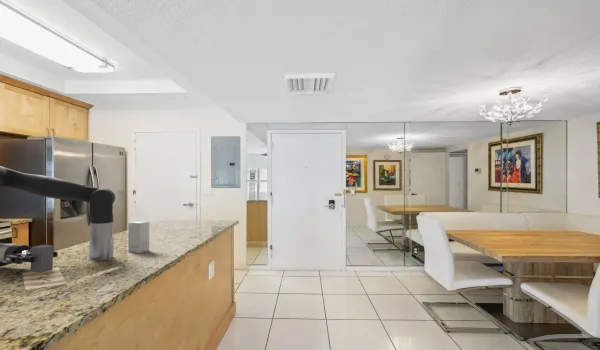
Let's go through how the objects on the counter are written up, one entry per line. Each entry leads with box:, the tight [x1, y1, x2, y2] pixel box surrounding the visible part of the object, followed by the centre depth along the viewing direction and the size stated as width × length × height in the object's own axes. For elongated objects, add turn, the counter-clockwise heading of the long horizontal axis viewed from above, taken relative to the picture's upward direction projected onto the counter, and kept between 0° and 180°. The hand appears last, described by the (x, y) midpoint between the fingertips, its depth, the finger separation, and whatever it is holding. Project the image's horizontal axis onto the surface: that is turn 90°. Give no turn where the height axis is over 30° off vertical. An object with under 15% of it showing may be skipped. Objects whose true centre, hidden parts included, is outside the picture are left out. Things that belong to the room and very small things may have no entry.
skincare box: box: [127, 220, 150, 254], centre depth 160 cm, size 8×7×16 cm
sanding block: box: [29, 244, 54, 274], centre depth 119 cm, size 5×4×10 cm
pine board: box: [22, 267, 68, 291], centre depth 113 cm, size 24×11×1 cm, turn 44°
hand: (45, 256), depth 119 cm, fingers open, 8 cm apart
